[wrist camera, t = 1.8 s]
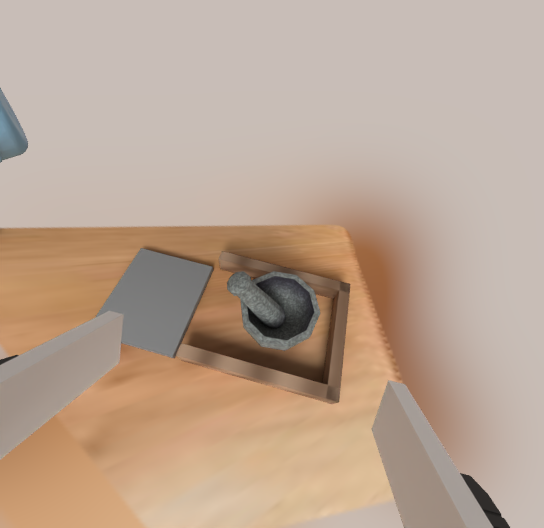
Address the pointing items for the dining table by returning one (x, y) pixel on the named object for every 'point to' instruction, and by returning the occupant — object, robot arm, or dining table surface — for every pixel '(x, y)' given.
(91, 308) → the dining table surface
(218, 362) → the rectangular wooden frame
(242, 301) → the mortar and pestle
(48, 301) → the dining table surface
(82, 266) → the dining table surface
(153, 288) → the slate mat
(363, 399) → the dining table surface
